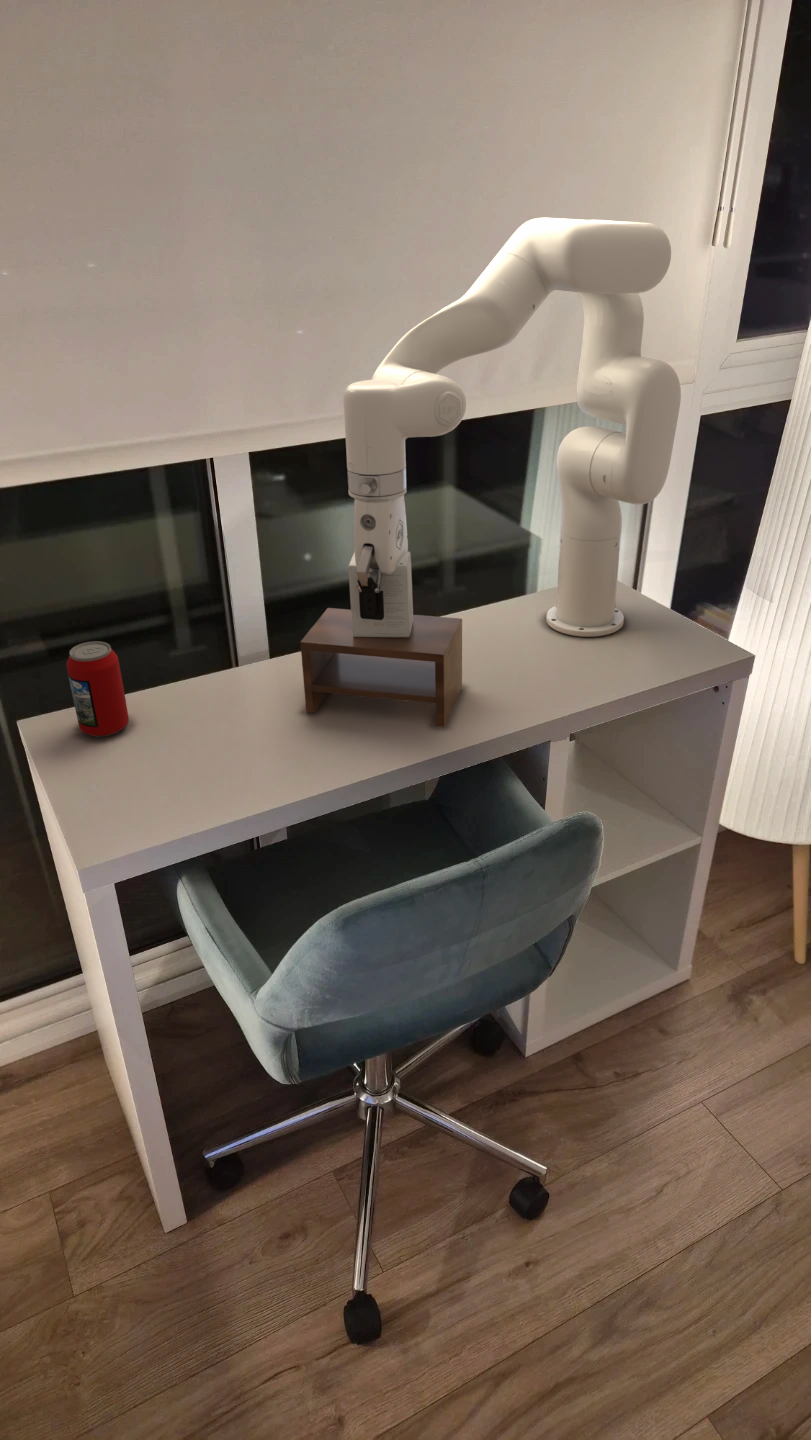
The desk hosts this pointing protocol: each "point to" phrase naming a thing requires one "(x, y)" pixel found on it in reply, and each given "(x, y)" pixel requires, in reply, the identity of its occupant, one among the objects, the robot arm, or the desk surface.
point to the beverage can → (97, 689)
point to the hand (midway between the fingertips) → (382, 604)
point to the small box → (385, 602)
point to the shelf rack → (384, 662)
